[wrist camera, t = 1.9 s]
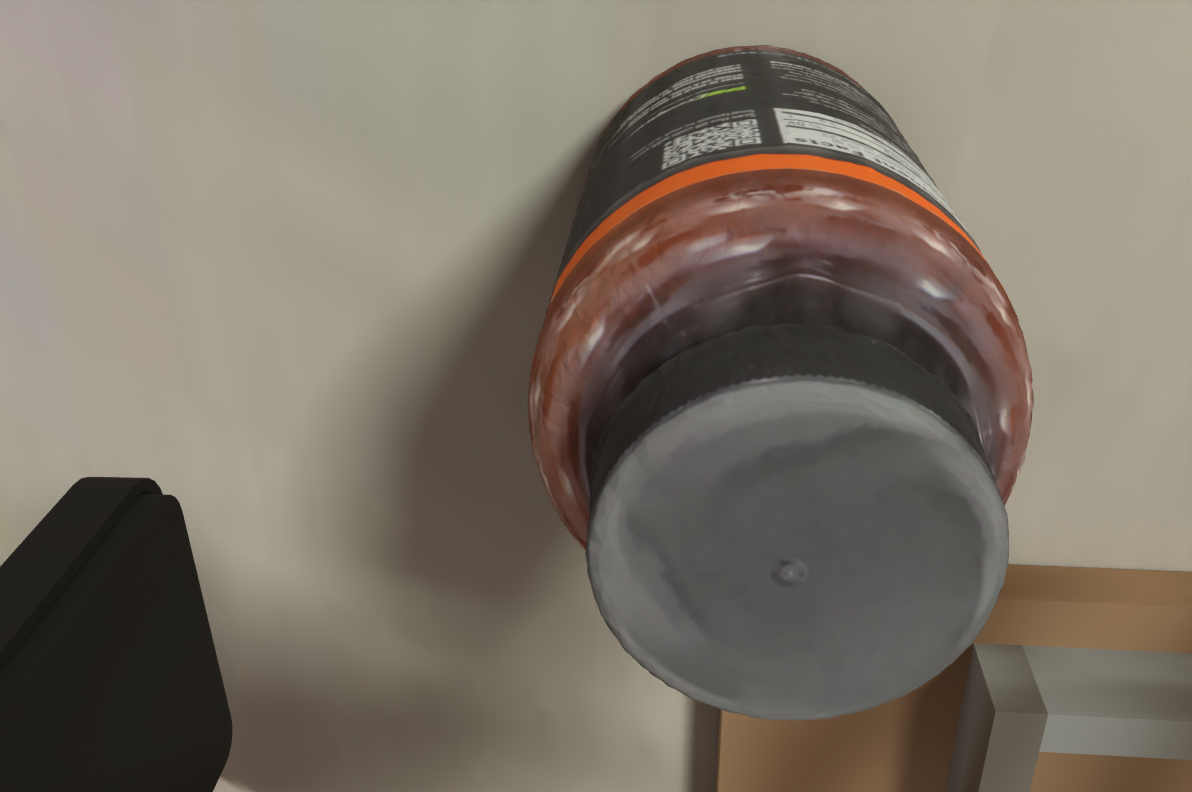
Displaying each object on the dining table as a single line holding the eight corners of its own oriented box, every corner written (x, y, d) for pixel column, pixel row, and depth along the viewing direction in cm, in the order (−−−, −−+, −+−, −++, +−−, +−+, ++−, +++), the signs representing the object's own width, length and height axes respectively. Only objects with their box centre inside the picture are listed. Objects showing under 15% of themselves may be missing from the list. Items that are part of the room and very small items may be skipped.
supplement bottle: (740, 401, 22) (768, 880, 12) (522, 204, 20) (348, 569, 11) (979, 198, 20) (1260, 588, 10) (752, -42, 18) (807, 130, 8)
